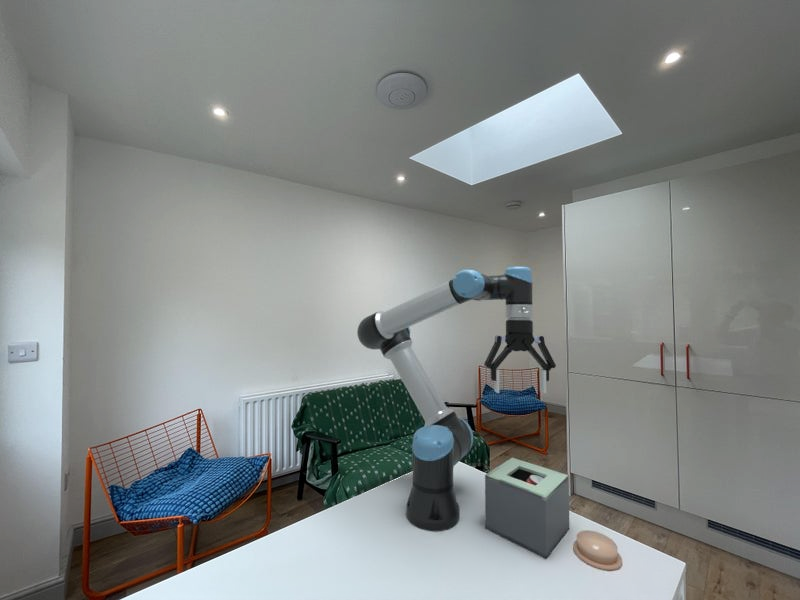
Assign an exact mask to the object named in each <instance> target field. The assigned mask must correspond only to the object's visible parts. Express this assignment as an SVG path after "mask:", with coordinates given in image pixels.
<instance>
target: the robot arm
mask: <svg viewBox="0 0 800 600" xmlns="http://www.w3.org/2000/svg"><path fill="white" fill-rule="evenodd" d="M532 275H533V274H532V269H531V268H529V267H528V266H511V267H507V268H505V271H504V274H501V275H500V274H499V275H486V274H484V273H480V272H479V271H477V270H473V269H463V270H460V271H459V272H457V273H456V274H455V276H454V277H453V278H452V279H451V280H448V281H446V282H444V283H442V284H440V285H438V286H435V287H433V288H432V289H430V290H427V291H425V292H423V293H421V294H419V295H417V296H415V297H413V298H411V299H408V300H407V301H405V302H402V303H400V304H398V305H396V306H394V307H392V308H390V309H387V310H386V311H383V310H379V311H376V312H374V313H373V314H370V315H368V316H366V317H365V318H363V319H362V320H361V321H360V322H359V324H358V327H357V333H356V334H357V338H358V341H359V342H360V344H361V345H362V346H364V347H365V348H367V349H368V350H380V352H381V354H382V356H383V358H385V359H387V360H390V361H391V364H392V365H393V366H394V369H395V370H396V373H397V374H398V375H399V377H400V379H401V381H402V382H403V384H404V385H403V386H404V387H405V388H406V390H407V392H408V394H409V395H410V397H411V399H412V401H413V402H414V404H415V406H416V407H417V409H418V411H419V414H420V415H421V417H422V418H423V420H424V426H422V427H420V428H418V429H417V430H416V431H415V432H414V434H413V437H412V444H411V445H412V446H411V447H412V448H411V450H412V487H411V490H410V493H409V496H408V499H407V502H406V507H405V508H406V510H405V511H406V514H405V516H406V518H407V519H408V521H409V522H410V523H411V524H413V525H414V526H415V527H417V528H420V529H422V530H426V531H436V532H437V531H438V532H439V531H445V530H449V529H451V528H453V527H455V526H456V525H457V524H458V522H459V521H460V514H461V513H460V510H461V509H460V505H459V503H458V499H457V496H456V493H455V490H454V467H455V466H456V465H457V464H458V463H459V462H460V461H461V460H462V459H463V458H464V457H466V456H467V455H468V454H469V452H470V450H471V448H472V447H473V445H474V444H473V443H474V433H473V430H472V428H471V426H470V424H469V423H468V422H467V421H466V420H464V419H462V418H460V417H458V415H457V413H456V412H455V410H454V409H452V408H451V409H450V408H448V407H447V405H446V404H445V402H444V400H443V399H442V397H441V395H440V393H439V392H438V390H437V389H436V387H435V385H434V383H433V382H432V380H431V378H430V377H429V375H428V374H427V372H426V369H425V368H424V367H423V364H422V363H421V362H420V360H419V359H418V357H417V355H416V353H415V352H414V349H413V347H412V346H413V339H412V338H411V329H410V327H413V326H414V325H417V324H419V323H421V322H423V321H425V320H428V319H430V318H433V317H435V316H437V315H439V314H441V313H443V312H446V311H447V310H450V309H452V308H454V307H455V308H456V307H457V306H459V305H462V304H464V303H466V302H469V301H477V302H478V301H479V302H481V301H494V300H501V301H502V300H505V318H506V321H505V336H503V335H502V336H501V335H498V334H497V335H495V337H494V343H493V345H492V346H491V349H490V352H489V353H488V355H487V357H486V359H485V362H484V367H486V368H488V369H490V380H491V381H493V391H494V392H495V393H496V394H500V370H499V369H498V368H499V366H500V365H501V364H502V363H503V361H504V360H505V359H506V358H507V357H508V356H509V354H511V353H512V352H520V351H521V352H528V353H529V355H531V357H533V359H534V360H535V361H536V362H537V364H538V365H539V366H540V367H541V368H540V369H539V392H540V393H543V394H547V382H549V381H550V371H551V369H555V368H556V367H557V365H556V363H555V361H554V359H553V357H552V355H551V352H550V351H549V349H548V347H547V345H546V341H545V337H544V336H543V335H537V336H534V334H533V333H534V321H533V320H531V319H533V276H532ZM504 342H505V344H506V346H505V347H504V348H503V350H502V351H501V352H500V353H499V354H498V351H499V350H500V347H501V345H502V344H503V343H504ZM533 343H535V344H537V347H538V348H539V350H540V352H541V354H542V356H541V355H540V354H539V353H538V351H536V349H535V347H533ZM497 354H498V356H497V357H496V355H497ZM543 358H544V359H543Z"/></svg>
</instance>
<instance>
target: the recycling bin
mask: <svg viewBox="0 0 800 600" xmlns="http://www.w3.org/2000/svg"><path fill="white" fill-rule="evenodd" d="M531 475H537V476H540V477H542V478H544V479H543V480H542V481H540V482H539V483H538V484H537V485H536V486H535V485H532V484H530V483H527V482H526V480H527V479H528V478H530V476H531ZM569 477H570V476H569V474H565V473H562V472H560V471H557V470H553V469H550V468H547V467H544V466H540V465H537V464H534V463H531V462H528V461H524V460H521V459H517V458H515V457H511V458H509V459H507V460H506V461H504V462H503V463H501V464H500V465H498V466H497V467H495V468H494V469H492V470H491V471H489V472H487V473H486V474H485V475H484V486H485V487H484V496H485V497H484V504H485V506H484V508H485V511H484V512H485V514H484V517H485V518H484V519H485V520H484V523H485V525H484V526H485V530H487V531H489V532H492V533H493V534H495V535H498V536H499V537H501V538H503V539H505V540H506V541H507V540H508V541H509V542H511V543H512V544H515V545H517V546H519V547H521V548H524V549H525V550H527V551H529V552H531V553H533V554H535V555H538V556H540V557H541V558H543V559H545V560H547V559H548V558H549V557H550V555H551V554H552V553H553V551H554V550H555V548H556V547H557V546H558V545H559V543H560V542H561V540H562V539H563V538H564V537H565V535H566V534H567V533H568V531H569V530H570V492H569V491H570V488H569V487H570V484H569V483H570V482H569V479H570V478H569Z"/></svg>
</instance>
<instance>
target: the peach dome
mask: <svg viewBox="0 0 800 600" xmlns="http://www.w3.org/2000/svg"><path fill="white" fill-rule="evenodd" d="M572 546H573V547H572V548H573V552H574V554H575V556H576V557H577V558H578V559H579V560H580V561H581V562H582V563H584V564H586V565H587V566H589V567H592V568H594V569H596V570H599V571H605V572H606V571H607V572H614V571H618V570H620V569H621V568H622V565H623V560H622V559H623V558H622V556H621V554H620V553H619V552H618V551H619V550H618V546H617V543H616V542H615V541H614V540H613V539H612V538H610V537H609V536H607V535H605V534H604V533H600V532H598V531H594V530H581V531H578V532H577V534H576V540H575V541H573V544H572Z"/></svg>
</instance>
